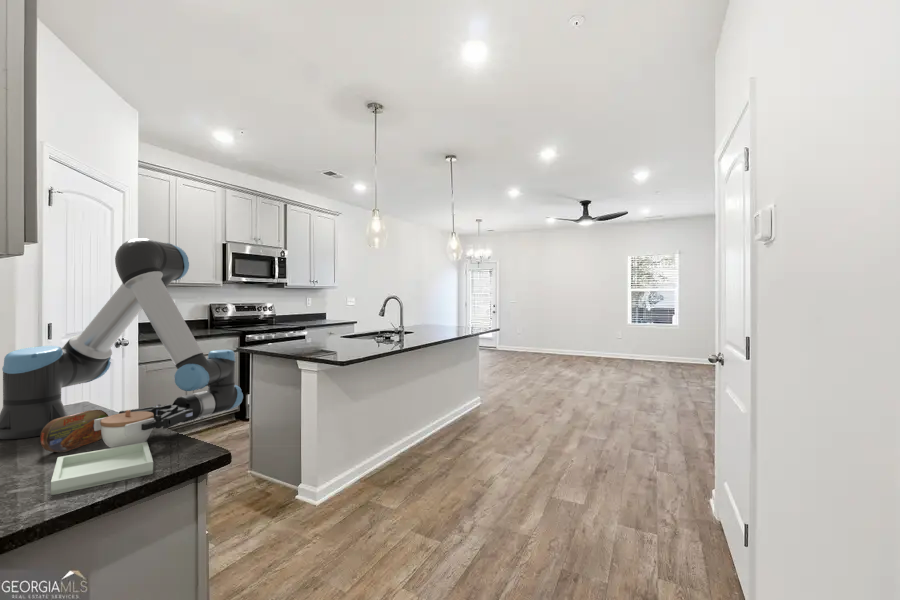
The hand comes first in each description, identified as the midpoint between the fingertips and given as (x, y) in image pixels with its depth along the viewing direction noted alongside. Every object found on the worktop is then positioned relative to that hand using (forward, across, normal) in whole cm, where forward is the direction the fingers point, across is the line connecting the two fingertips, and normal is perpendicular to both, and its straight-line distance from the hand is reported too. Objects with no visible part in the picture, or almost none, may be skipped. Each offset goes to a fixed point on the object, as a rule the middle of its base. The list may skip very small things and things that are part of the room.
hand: (110, 428), depth 101 cm
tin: (0, +13, -6) cm, 14 cm away
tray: (+8, -11, -6) cm, 15 cm away
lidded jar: (-4, 0, -6) cm, 7 cm away
